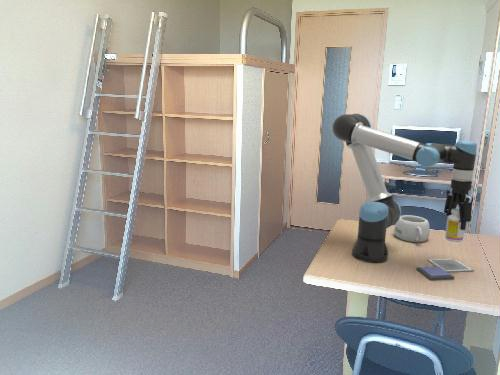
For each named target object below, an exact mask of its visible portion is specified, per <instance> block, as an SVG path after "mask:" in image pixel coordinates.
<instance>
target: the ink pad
mask: <svg viewBox="0 0 500 375" xmlns="http://www.w3.org/2000/svg"><path fill="white" fill-rule="evenodd" d="M415 271H417V272H418V273H420V274H421V275H422V276H424V277H425V278H426V279H428V280H429V281H449V280H454V279H455V276H454V275H453V274H451V272H447V271H445V270H444V269H442V268H441V267H439V266H435V265H434V266H418V267H416V269H415Z"/></svg>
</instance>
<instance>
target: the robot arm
mask: <svg viewBox="0 0 500 375" xmlns="http://www.w3.org/2000/svg"><path fill="white" fill-rule="evenodd" d="M331 128H332V133H333V135H334V137H335V138H337V140H340V141H343V142H345V144H346V147H347V148H349V149H351V151H352V154H353V157H354V160H355V163H356V165H357V168H358V170H359V173H360V176H361V179H362V183H363V186H364V188H365V191H366V193H367V197H368V199H367V201H366V202H364V203H363V204H362V205H361V206H360V210H359V213H358V216H359V217H358V228H357V238H356V240H355V243H354V245H353V247H352V250H351V255H352V257H353V258H354V259H356V260H359V261H361V262H365V263H373V264H374V263H377V264H379V263H380V264H381V263H384V262H386V261H387V260H388V257H389V253H388V249H387V244H386V236H387V229H389V228H391V227H393V226H395V224H396V222H397V221H398V220H399V219H400V216H402V209H401V206H400V204H399V202H398V201H396V200H395V198H394V197H393V194H391V193H390V192H389V191H388V190H387V187H386V185H385V182H384V181H385V180H384V178H383V176H382V174H381V170H380V168H379V165H378V162H377V159H376V156H375V153H374V150H373V149H377V150H380V151H383V152H386V153H389V154H390V155H391V154H392V155H395V156H398V157H401V158H404V159H407V160H410V161H413V162H415V163H418V164H419V165H420V166H422V167H425V168H426V167H433V166H435V165H436V164H439V163H442V164H443V163H444V164H450V165H451V164H452V165H453V166H452V172H451V178H452V179H450V180H451V182H450V189H451V190H447V191H446V198H445V204H444V209H443V213H444V214H446V222H445V224H446V225H445V232H446V228H447V220H448V216H449V215H451V214H452V213H451V210H452V209H457V206H458V209H459V212H460V221H459V222H458V229H457V236H456V237H463V238H464V237H465V231H466V227H467V223H471V221H472V211H473V210H472V209H473V202H474V197H471V196H469V191H471V190H472V186H473V181H472V180H473V176H474V171H475V165H476V164H475V163H476V158H477V147H478V144H477V143H476V142H475V141H470V140H458V141H456V144H453V145H452V144H446V143H445V144H443V143H435V142H432V143H431V142H430V143H429V142H427V143H422V142H419V141H416V140H412V139H408V138H406V137H402V136H400V135H396V134H392V133H389V132H385V131H384V130H383V131H382V130H380V129H376V128H373V127H372V124H371V121H370V119H369V118H368V117H367V116H365V115H363V114H360V113H350V114H348V113H347V114H342V115H339V116H338V117H336V118H335V120H334V121H333V123H332V127H331ZM463 218H464V219H463Z"/></svg>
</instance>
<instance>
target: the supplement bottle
mask: <svg viewBox="0 0 500 375" xmlns="http://www.w3.org/2000/svg"><path fill="white" fill-rule="evenodd" d="M451 213H452V214H451V215H449V216H448V220H447V219H446V220H447V228H446V227H445V230H446V231H445V237H444V238H445V239H446V240H447V241H449V242H454V243H460V242H461V243H462V241H464V240H463V239H464V237H456V236H457V229H458V222H459V221H460V212H459V208H456V209H452V210H451ZM463 219H464V218H463Z"/></svg>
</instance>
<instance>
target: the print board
mask: <svg viewBox="0 0 500 375" xmlns="http://www.w3.org/2000/svg"><path fill="white" fill-rule="evenodd" d="M426 261H427V262H429V263H430V264H432V265H433V266H434V267H435V266H439V267H441V268H442V269H444V270H445V271H447V272H448V273H463V272H464V273H467V272H468V273H469V272H475V270H474V269H472V268H471V267H469V266H467V265H466V264H464V263H463V262H461V261H459V260H458V259H456V258H452V257H451V258H433V259H432V258H431V259H430V258H428V259H426Z"/></svg>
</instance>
